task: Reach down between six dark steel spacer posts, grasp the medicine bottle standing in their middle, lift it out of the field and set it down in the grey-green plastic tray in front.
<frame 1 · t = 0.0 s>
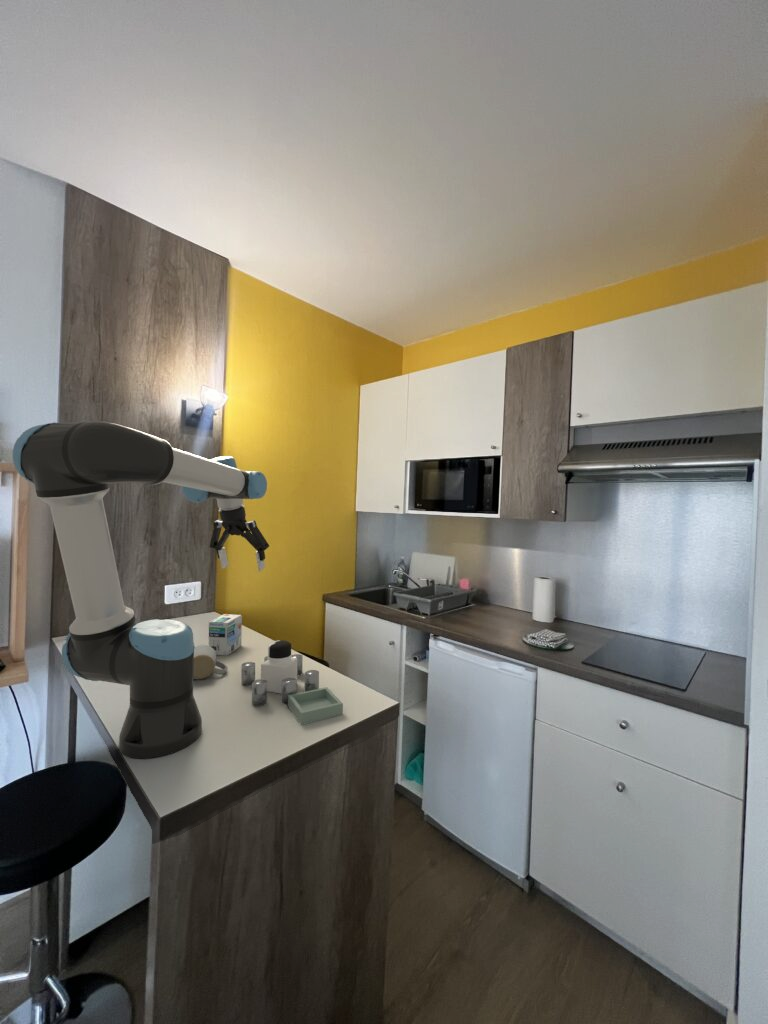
hand: (243, 568, 137), 28 cm above the table, tool tilted 20°, fingers open, 13 cm apart
ceramic mug: (206, 675, 120), on the table
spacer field: (279, 687, 112), on the table
medicine bottle: (279, 687, 112), on the table
tray: (314, 710, 100), on the table
light bulb box: (225, 650, 141), on the table
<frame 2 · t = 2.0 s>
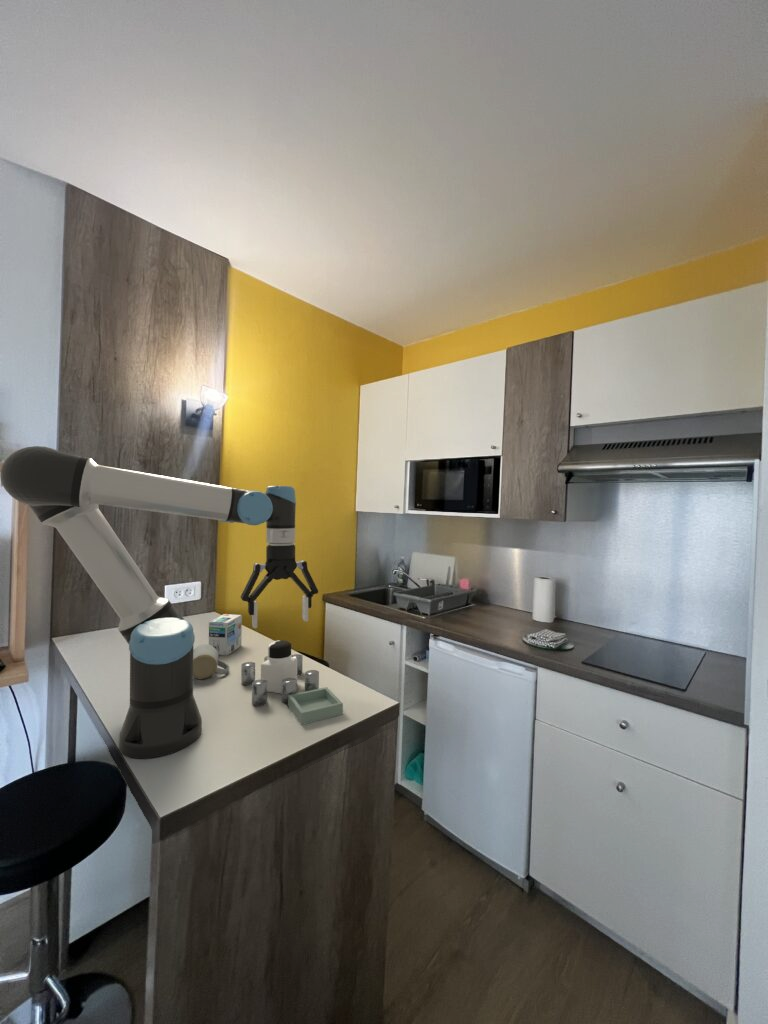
hand: (280, 623, 112), 17 cm above the table, tool pointing down, fingers open, 13 cm apart
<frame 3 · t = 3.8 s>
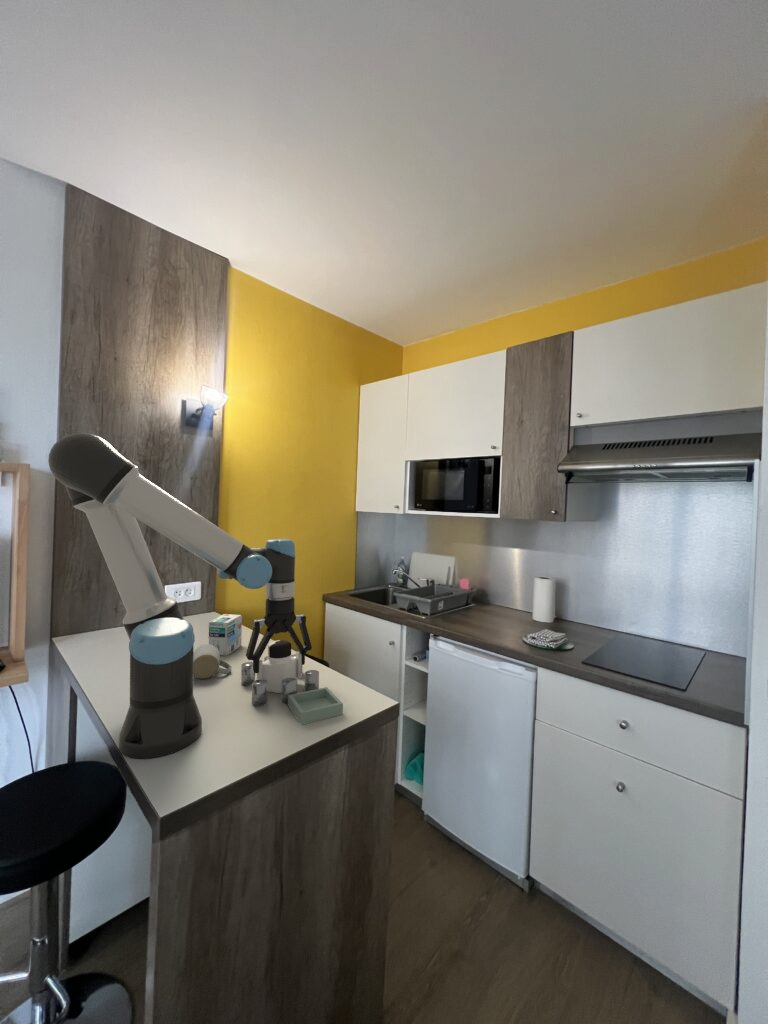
hand: (279, 680, 112), 2 cm above the table, tool pointing down, fingers closed on medicine bottle, 10 cm apart
medicine bottle: (279, 687, 112), on the table, touching gripper
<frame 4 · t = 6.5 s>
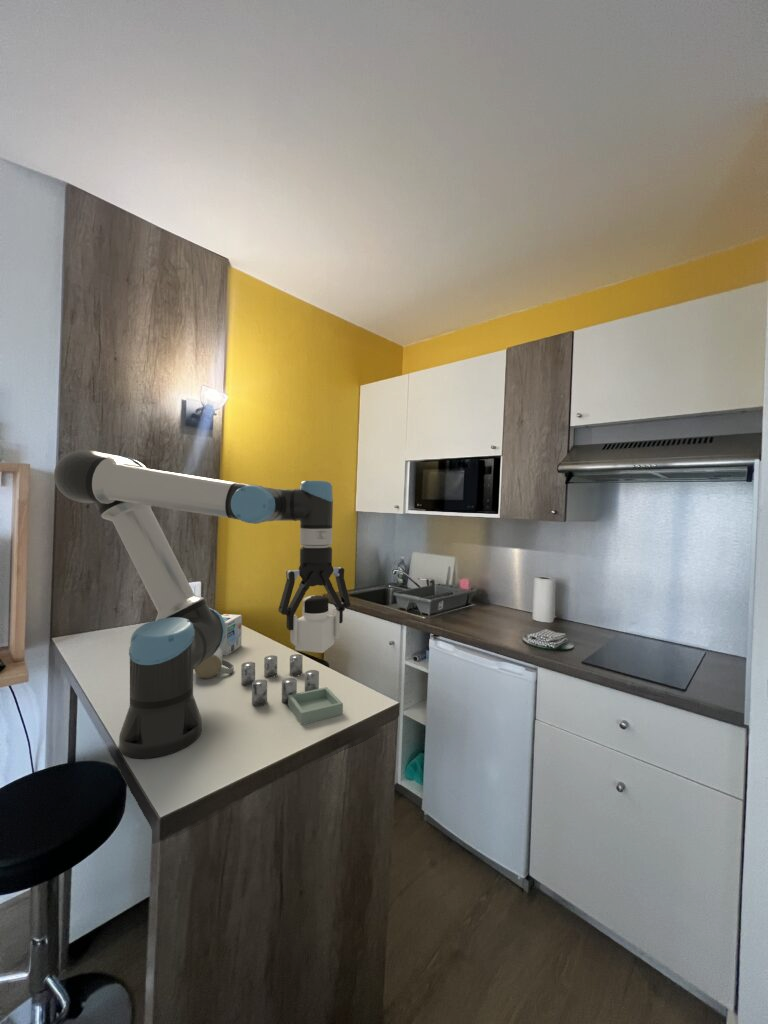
hand: (315, 639, 100), 17 cm above the table, tool pointing down, fingers closed on medicine bottle, 10 cm apart
medicine bottle: (315, 648, 100), point 15 cm above the table, touching gripper
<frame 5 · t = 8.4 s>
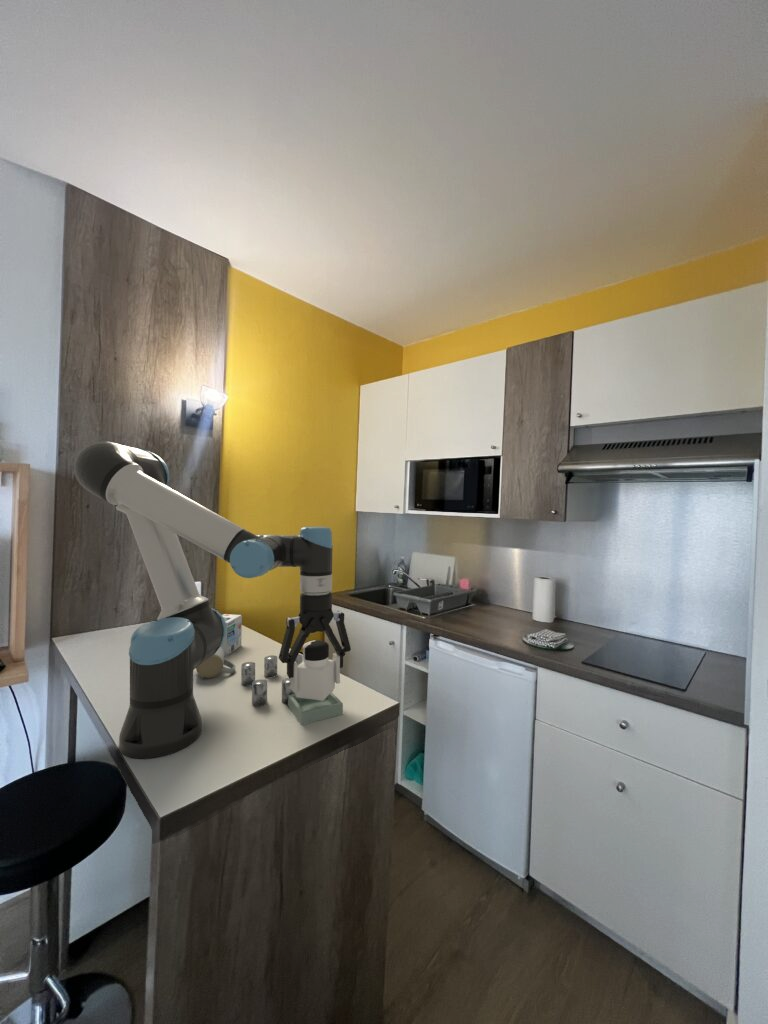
hand: (315, 685, 100), 6 cm above the table, tool pointing down, fingers closed on medicine bottle, 10 cm apart
medicine bottle: (315, 693, 100), point 4 cm above the table, touching gripper
when the fingers open (4 cm above the table, at t = 9.4 s): medicine bottle stays where it is, resting on tray.
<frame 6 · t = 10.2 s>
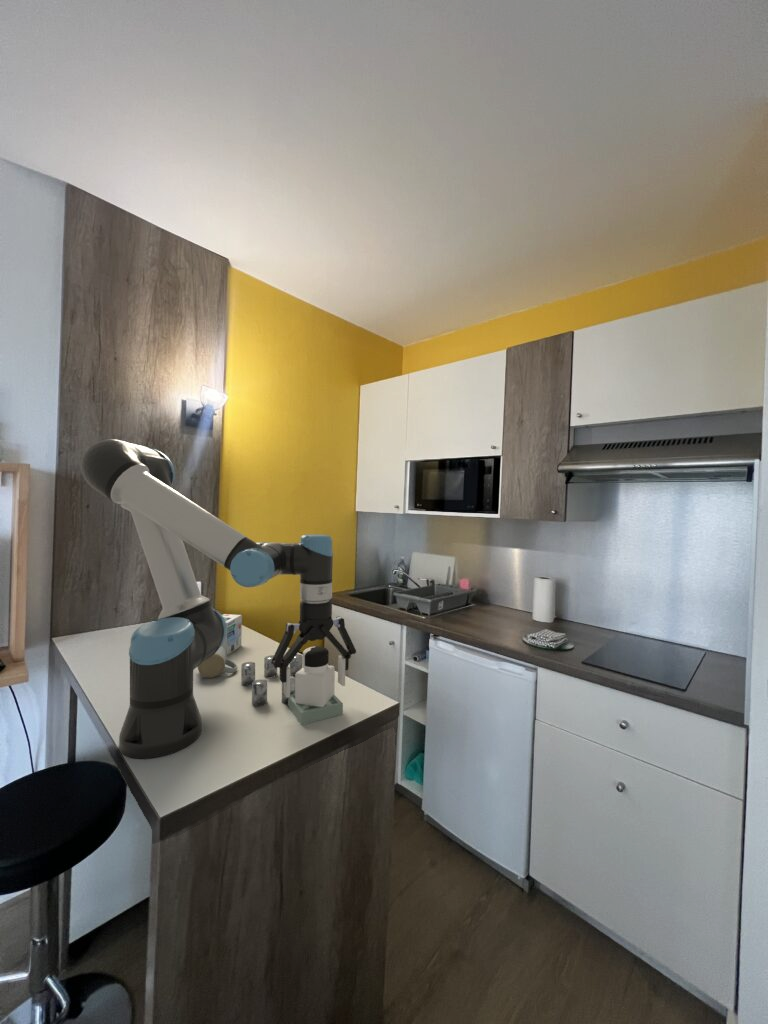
hand: (314, 689, 100), 5 cm above the table, tool pointing down, fingers open, 13 cm apart
medicine bottle: (315, 700, 100), point 2 cm above the table, touching tray
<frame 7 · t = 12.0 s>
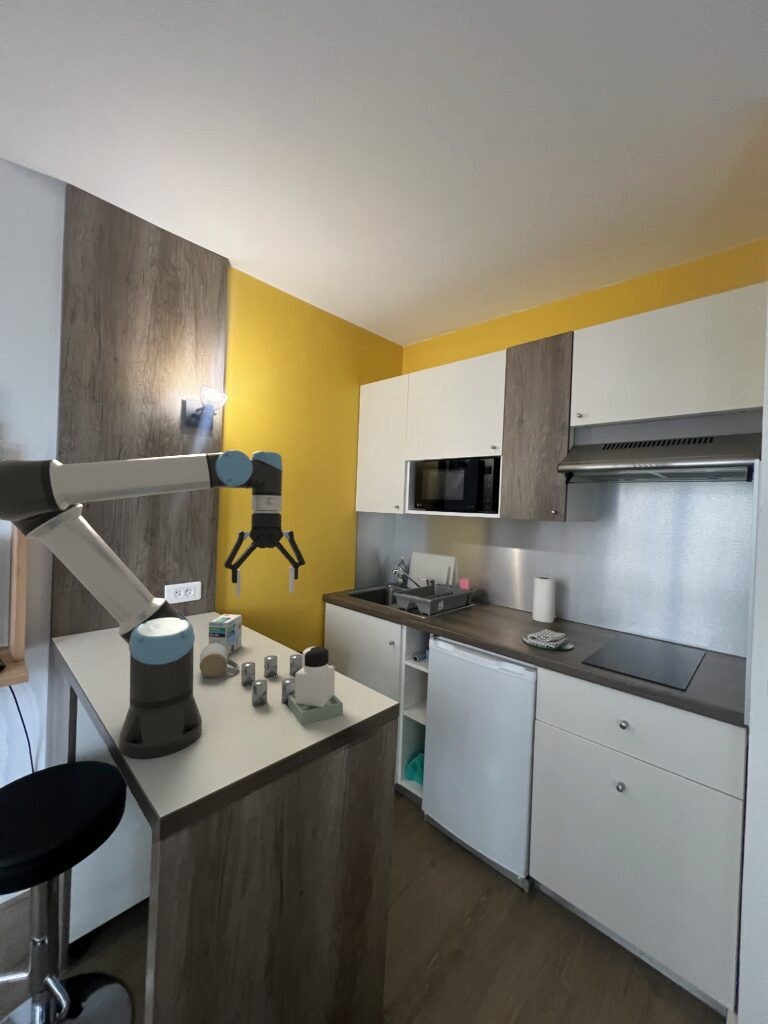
hand: (265, 594, 109), 25 cm above the table, tool pointing down, fingers open, 13 cm apart
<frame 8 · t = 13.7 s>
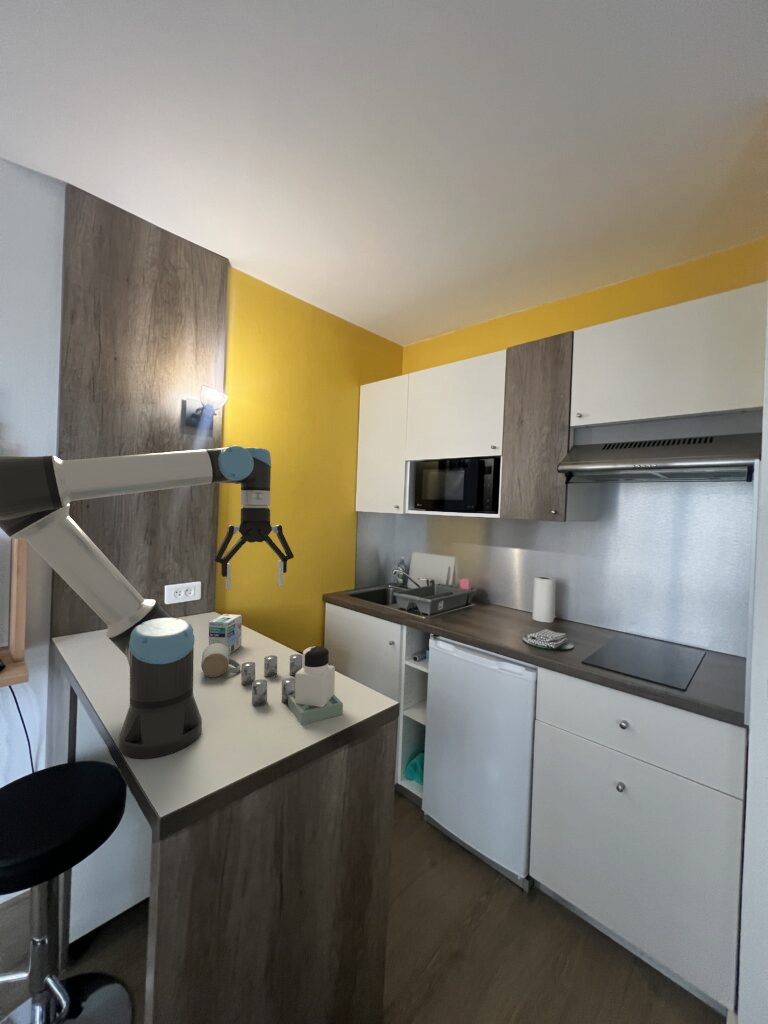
hand: (254, 587, 112), 27 cm above the table, tool pointing down, fingers open, 13 cm apart
at the end: medicine bottle inside the target area on the tray (0.0 cm from its centre), point 2.4 cm above the tray's base; medicine bottle tilted 0°; the gripper is holding nothing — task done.
